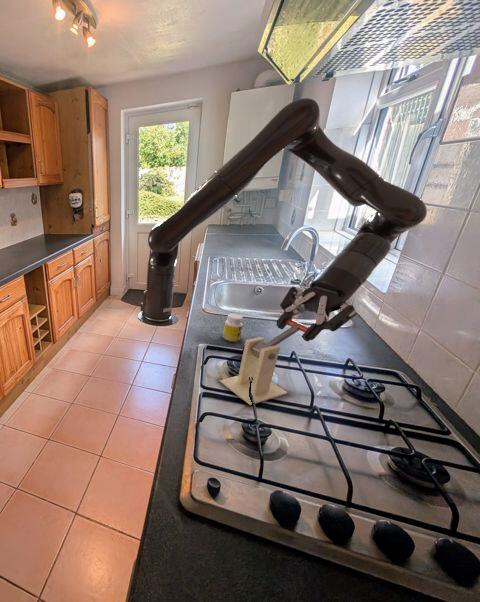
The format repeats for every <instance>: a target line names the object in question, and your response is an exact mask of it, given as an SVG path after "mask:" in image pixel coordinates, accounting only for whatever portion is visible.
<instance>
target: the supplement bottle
mask: <svg viewBox="0 0 480 602" xmlns="http://www.w3.org/2000/svg"><path fill="white" fill-rule="evenodd" d="M242 322H243V316H242V315H241V314H238V313H229V314H228V315H227V320H225V322H224V328H223V334H222V339H223V340H224V341H227V342H231V343H237V342H240V341H241V335H242V332H243V331H242V330H243V326H244V325H243V323H242Z"/></svg>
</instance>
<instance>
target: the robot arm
mask: <svg viewBox="0 0 480 602" xmlns="http://www.w3.org/2000/svg"><path fill="white" fill-rule="evenodd" d="M320 118H321V110H320V105H319V104H318V102H317V101H316V100H315V99H313V98H309V97H302V98H297V99H295V100H293V101H291V102H290V103H287V105H285V106H284V107H282V108H281V109H280V110H279V111H278V112H277V113H276V114H275V115H274V116H273V117H272V118H271V119H270V120H269V122H267V124H266V125H265V126H264V127H262V129H261V130H260V131H259V132H258V133H257V134H256V135H255V136H254V137H253V138H252V139H251V140H250V141H249V142H248V143H247V144H246V145H245V146H244V147H242V148H241V149H240V150H239V151H238V152H237V153H236V154H234V155H233V156H232V157H231V158H230V159H229V160H227V161H226V162H225V163H224V164H223V165H222V166H221V167H220V168H218V169H217V170H216V171H215V172H214V173H213V174H211V175H210V176H209V177H208V178H207V179H206V180H205V181H204V182H203V183H201V185H200V186H199V187H197V189H196V190H194V192H193V193H192V194H191V195H190V197H189V198H187V200H186V201H185V202H184V203H183V204H182V205H181V206H180V208H178V209H177V211H175V212H174V213H172V215H170V216H169V217H167V218H166V219H165V220H164V221H162V222H159V223H157V224H155V226H154V227H152V229H150V231H149V233H148V237H147V245H148V247H149V257H148V261H147V268H146V269H147V270H146V286H145V287H146V288H145V290H144V291H143V296H142V302H141V303H140V312H141V311H142V316H144V317H145V318H146V319H147V320H149V321H153V322H167V321H169V320H170V319H171V312H173V311H172V310H173V300H174V291H175V290H174V289H175V280H176V271H177V270H176V269H177V262H178V257H179V256H178V255H179V246H180V242H182V240H183V239H184V238H186V236H187V235H189V234H190V233H191V232H192V231H193V230H194V229H195V228H197V227H198V226H199V225H201V224H202V223H204V222H205V221H207V220H208V219H210V218H211V217H213V216H214V215H215V214H217V213H218V212H220V211H221V210H222V209H223V208H224V207H226V206H227V205H228V204H230V203H231V202H232V201H233V200H234V199H236V198H237V197H238V196H240V195H241V194H242V193H243V192H244V191H245V190H246V189H247V187H248V186H249V185H250V184H251V183H252V181H253V180H254V179H255V178H256V176H258V174H259V173H260V171H261V170H262V169H263V168H264V167H266V165H267V164H268V163H269V162H270V161H271V160H272V159H273V158H274V157H276V156H277V155H278V154H279V153H280V152H282V151H283V150H284V149H285V150H286V151H287V152H290V153H291V154H293V155H294V156H296V157H297V158H299V159H300V160H302V161H303V162H305V163H306V164H307V165H308V166H310V167H311V168H312V169H313V170H315V171H316V172H317V173H318V174H319V175H320V176H321V178H322V179H324V181H326V182H327V183H328V184H329V186H331V188H332V189H333V190H334V191H336V192H337V194H338V195H340V197H342V198H343V199H344V201H346V202H347V203H348V204H349V205H350V206H352V207H354V208H361V207H364V206H368V207H369V208H370V209H373V210H374V212H373V213H372V214H371V215H370V216H368V218H367V219H366V220H365V221H364V222H363V224H362V225H361V226H360V228H359V229H358V230H357V232H356V234H355V235H354V237H353V238H352V239H351V240H350V241H349V242H348V243H347V244H346V245H345V246H344V247H343V249H342V250H340V252H339V253H338V254H337V255H335V256H334V257H333V258H332V259H330V261H329V262H328V263H327V265H326V266H325V267H324V268H323V269H322V270H321V271H320V272H319V273H318V275H317V276H316V277H315V278H314V279H313V280H312V282H311V284H310V285H309V286H308V287H307V288H305V289H303V290H302V289H297V288H296V286H292V287H290V288H289V290H288V291H287V293H286V294H285V296H284V297H283V300H282V301H281V302H280V304H279V306H280V309H282V311H283V313H282V314H281V315H280V316H279V317H278V319H277V320H276V321H275V323H276V324H275V325H276V326H277V328H278V329H280V330H284V329H285V328H286V327H287V326H288V325H287V324H286V320H287V319H291V320H293V317H295V316H297V315H299V314H304V313H306V312H310V313H311V312H312V313H314V314H316V319H315V323H311V325H310V326H308V327H309V328H308V329H307V330H306V331H305V332H303V333H302V335H301V338H302V339H303V341H305V342H310V341H313V340H314V339H316V337H317V336H318V335H319V334H320V333H321V332H322V331H324V330H326V331H327V330H328V331H330V332H336V331H338V330H339V329H340V328H341V327H342V326H344V325H345V324H346V323H348V322H349V321H351V320H352V319H353V318H354V317H355V316H357V314H358V312H357V311H356V308H355V306H354V305H351V304H349V305H348V304H346V302H348V301H349V300H350V299H351V298H352V296H353V295H354V294H355V293H356V292H357V291H358V290H359V289H360V287H362V285H364V284H365V283H366V281H367V280H368V279H369V277H370V276H371V275H372V273H373V272H374V270H375V269H376V268H377V267H378V266H379V264H381V263H382V261H383V260H384V259H385V258H386V257H387V256H388V253H390V251H391V248H392V247H391V246H392V245H391V244H392V243H393V242H394V241H395V240H396V239H397V238H398V237H399V236H400V235H403V234H404V233H406V232H407V231H409V230H411V229H413V228H415V227H416V226H418V225H420V224H421V223H422V222H424V220H425V219H426V217H427V215H428V209H427V205H426V204H425V202H424V201H423V200H422V198H420V197H419V196H417V195H416V194H415V193H413V192H411V191H409V190H406V189H405V188H402V187H400V186H398V185H396V184H394V183H391V182H388V181H387V180H385V179H384V178H383V176H381V175H379V173H377V171H375V170H374V169H373V168H372V167H370V165H369V164H368V163H366V162H365V161H363V160H362V159H360V158H359V157H358V156H356V155H354V154H352V153H350V152H348V151H347V150H344V149H343V148H341V147H339V146H338V145H337V144H335V143H334V142H333V141H332V140H331V139H329V137H328V136H327V135H326V133H325V132H324V130H323V129H322V128H321V126H320ZM300 297H301V298H300ZM336 311H339V312H338V313H336V314H335V315H334V316H332V317H331V314H332V313H333V312H336ZM330 317H331V318H330Z"/></svg>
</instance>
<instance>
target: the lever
mask: <svg viewBox="0 0 480 602" xmlns="http://www.w3.org/2000/svg"><path fill="white" fill-rule="evenodd" d="M286 324H287V325H286V326H289V328H288V329H286V330H285V331H283V332H281V333H280V334H278V335H277V336H275V337H274V338H272V339H270V340H269V341H267V342H260V343H258V344H256V345H255V346H253V347H252V353H253V355H254V356H255V357H257V358H259V356H260V352H261V349H263V348H267V347H271V346H275V345H277V346H278V345H279V344H281V343H282V342H283V341H285V340H287V339H288V338H289V337H291V336H293V335H294V334H296V333H298V332H299V331H300V332H302V333H305V331H306V330H307V329H308V328H309V327H310V326H308V325H305V324H303V323H300V322H298V321H295V320H293V319H292V320H291V319H287V320H286Z"/></svg>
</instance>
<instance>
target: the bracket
mask: <svg viewBox="0 0 480 602" xmlns="http://www.w3.org/2000/svg"><path fill="white" fill-rule="evenodd" d="M260 342H263V343H265V338H264V337H262V336H258V337H254V338H249V339H245V342H244V348H243V353H242V357H241V361H240V367H239V372H238V375H235V376H231V377H227V378H223V379H220V380H219V382H220V383H221V384H222V385H224V386H225V387H226V388H227V389H229V390H230V391H231V392H232V393H234V394H235V395H236V396H237V397H239V398H240V399H241V400H243V401H244V402H245V403H247V405H249V406H253V405H252V402H251V400H250V397H249V387H250V380H249V377H250V375H251V377H252V378H253V380H252V383H251V390H252V391H251V393H252V395H253V397H254V400H255V404H254V405H256V404H259V403H262V402H266V401H268V400H269V401H270V400H271V399H275V398H278V397H282V396H284V395H287V394H288V391H286V390H285V389H283V388H281V386H279V385H277V384H276V383H274V382H273V377H274V373H275V368H276V366H277V361H278V357H279V354H280V349H281V346H279V345H278V344H277V345H275V346H271V347H267V348H263V349H261V352H260V356H259V358H257V357H255V356H254V355H253V353H252V347H253V346H255V345H256V344H258V343H260Z"/></svg>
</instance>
